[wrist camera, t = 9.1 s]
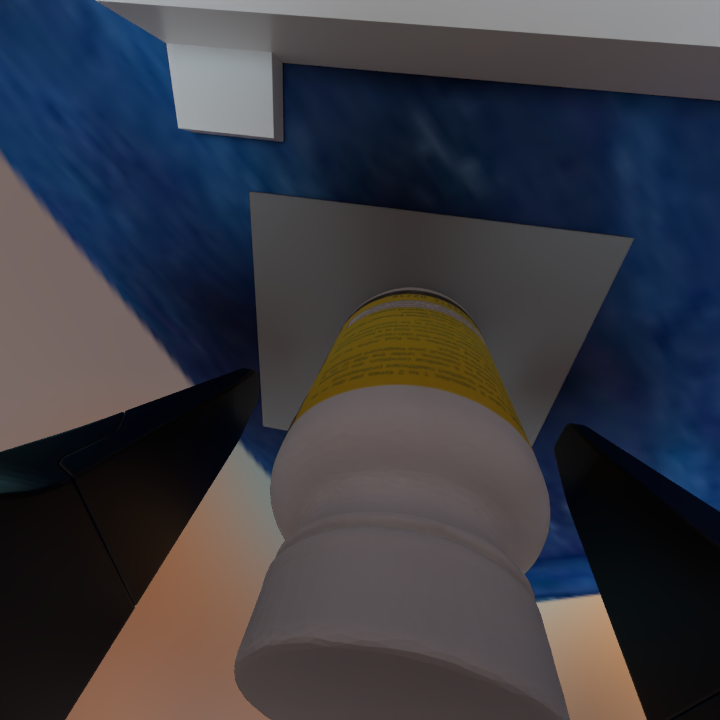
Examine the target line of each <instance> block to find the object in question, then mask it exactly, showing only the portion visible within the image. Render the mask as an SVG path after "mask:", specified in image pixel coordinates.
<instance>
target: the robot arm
mask: <svg viewBox="0 0 720 720" xmlns="http://www.w3.org/2000/svg"><path fill="white" fill-rule="evenodd" d="M258 398H259V382H258V373H257V371H256V370H253V369H247V368H242V369H239V370H236V371H234V372H231V373H228V374H225V375H223V376H220V377H217V378H214V379H212V380H209V381H206V382H203V383H201V384H198V385H195V386H192V387H190V388H187V389H184V390H182V391H179V392H176V393H173V394H171V395H168V396H165V397H162V398H160V399H157V400H154V401H152V402H149V403H146V404H143V405H140V406H138V407H135V408H132V409H129V410H127V411H125V413H124V412H121V413H118V414H116V415H113V416H110V417H107V418H105V419H102V420H99V421H96V422H93V423H90V424H87V425H84V426H82V427H78V428H75V429H72V430H69V431H66V432H63V433H60V434H57V435H53V436H50V437H47V438H44V439H41V440H37V441H34V442H31V443H28V444H24V445H21V446H18V447H15V448H12V449H9V450H5V451H2V452H0V720H65V719H66V718H67V716H68V714H69V713H70V711H71V710H72V708H73V706H74V705H75V703H76V702H77V700H78V698H79V697H80V695H81V693H82V692H83V690H84V689H85V687H86V686H87V684H88V682H89V681H90V679H91V678H92V676H93V674H94V672H95V671H96V670H97V668H98V666H99V665H100V663H101V661H102V660H103V658H104V657H105V655H106V653H107V652H108V650H109V649H110V647H111V645H112V644H113V642H114V640H115V639H116V637H117V636H118V634H119V633H120V631H121V629H122V628H123V626H124V625H125V623H126V621H127V620H128V618H129V617H130V615H131V613H132V612H133V610H134V608H135V605H137V603H138V602H139V600H140V598H141V597H142V595H143V594H144V592H145V590H146V589H147V587H148V585H149V584H150V582H151V581H152V579H153V578H154V576H155V574H156V573H157V571H158V570H159V568H160V566H161V565H162V563H163V561H164V560H165V558H166V557H167V555H168V554H169V552H170V550H171V549H172V547H173V546H174V544H175V542H176V541H177V539H178V537H179V536H180V534H181V533H182V531H183V529H184V528H185V526H186V525H187V523H188V521H189V520H190V518H191V517H192V515H193V513H194V512H195V510H196V509H197V507H198V505H199V504H200V502H201V501H202V499H203V497H204V495H205V494H206V493H207V491H208V489H209V488H210V486H211V485H212V483H213V481H214V480H215V478H216V477H217V475H218V473H219V472H220V470H221V469H222V467H223V465H224V464H225V462H226V460H227V459H228V457H229V456H230V454H231V452H232V451H233V449H234V447H235V446H236V444H237V443H238V441H239V439H240V437H241V435H242V433H243V431H244V428H245V426H246V424H247V422H248V420H249V418H250V416H251V414H252V412H253V409H254V407H255V405H256V403H257V401H258ZM554 453H555V458H556V462H557V466H558V470H559V474H560V478H561V482H562V486H563V490H564V494H565V497H566V501H567V504H568V507H569V510H570V513H571V516H572V518H573V521H574V524H575V527H576V529H577V532H578V535H579V537H580V540H581V543H582V546H583V548H584V551H585V554H586V556H587V559H588V562H589V564H590V567H591V570H592V573H593V575H594V578H595V581H596V583H597V586H598V589H599V592H600V594H601V597H602V599H603V602H604V605H605V608H606V610H607V613H608V616H609V618H610V621H611V624H612V627H613V629H614V632H615V635H616V638H617V640H618V643H619V646H620V648H621V651H622V654H623V656H624V659H625V662H626V665H627V667H628V670H629V673H630V675H631V678H632V681H633V683H634V686H635V689H636V692H637V694H638V697H639V699H640V702H641V705H642V708H643V710H644V713H645V716H646V719H647V720H720V512H719V511H718V510H716V509H714V508H713V507H711V506H710V505H708V504H707V503H705V502H703V501H702V500H700V499H699V498H697V497H696V496H694V495H693V494H691V493H689V492H688V491H686V490H685V489H683V488H682V487H680V486H679V485H677V484H675V483H674V482H672V481H671V480H669V479H668V478H666V477H664V476H663V475H661V474H660V473H658V472H657V471H655V470H654V469H652V468H650V467H649V466H647V465H646V464H644V463H643V462H641V461H640V460H638V459H636V458H635V457H633V456H632V455H630V454H629V453H627V452H625V451H624V450H622V449H621V448H619V447H618V446H616V445H615V444H613V443H611V442H610V441H608V440H607V439H605V438H604V437H602V436H601V435H599V434H597V433H596V432H594V431H593V430H591V429H590V428H588V427H586V426H584V425H579V424H572V423H570V424H567V425H566V426H565V427H564V429H563V431H562V433H561V435H560V437H559V439H558V440H557V442H556V444H555V448H554Z"/></svg>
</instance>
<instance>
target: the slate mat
mask: <svg viewBox="0 0 720 720" xmlns="http://www.w3.org/2000/svg"><path fill="white" fill-rule="evenodd" d="M249 195H250V211H251V228H252V245H253V262H254V279H255V296H256V313H257V330H258V347H259V364H260V381H261V398H262V415H263V426H265V427H270V428H275V429H281V430H286V431H288V429H289V427H290V425H291V423H292V421H293V419H294V417H295V416H296V414H297V413H298V411H299V409H300V407H301V405H302V403H303V401H304V400H305V398H306V396H307V394H308V392H309V390H310V388H311V387H312V385H313V383H314V380H315V379H316V377H317V375H318V373H319V371H320V369H321V367H322V366H323V364H324V362H325V359H326V358H327V356H328V353H329V352H330V350H331V348H332V346H333V344H334V343H335V341H336V339H337V337H338V335H339V333H340V331H341V329H342V327H343V326H344V324H345V323H346V321H347V319H348V318H349V317H350V316H351V314H352V313H353V312H354V311H355V310H356V309H357V308H358V307H359V306H360V305H361V304H363V303H364V302H365V301H367V300H368V299H370V298H372V297H374V296H376V295H378V294H380V293H383V292H386V291H389V290H393V289H398V288H406V287H414V288H423V289H428V290H432V291H436V292H438V293H441V294H443V295H445V296H447V297H449V298H451V299H452V300H454V301H456V302H457V303H458V304H459V305H461V306H462V307H463V308H464V309H465V310H466V311H467V312H468V313H469V315H470V316H471V317H472V319H473V320H474V322H475V323H476V325H477V327H478V328H479V330H480V332H481V334H482V337H483V339H484V341H485V343H486V345H487V347H488V350H489V352H490V355H491V357H492V359H493V361H494V364H495V366H496V368H497V370H498V373H499V375H500V377H501V379H502V381H503V384H504V386H505V388H506V390H507V393H508V395H509V397H510V400H511V402H512V404H513V407H514V409H515V411H516V414H517V416H518V419H519V421H520V423H521V425H522V427H523V429H524V432H525V434H526V436H527V438H528V441H529V443H530V445H531V447H532V446H533V444H534V442H535V440H536V437H537V435H538V433H539V431H540V429H541V427H542V425H543V423H544V421H545V419H546V417H547V415H548V413H549V411H550V409H551V407H552V405H553V403H554V401H555V399H556V397H557V395H558V393H559V391H560V389H561V387H562V385H563V382H564V380H565V378H566V376H567V374H568V372H569V370H570V368H571V366H572V364H573V362H574V360H575V358H576V356H577V354H578V352H579V350H580V348H581V346H582V344H583V342H584V340H585V338H586V336H587V334H588V332H589V330H590V327H591V325H592V323H593V321H594V319H595V317H596V315H597V313H598V311H599V309H600V307H601V305H602V303H603V301H604V299H605V297H606V295H607V293H608V291H609V289H610V287H611V285H612V283H613V281H614V279H615V277H616V275H617V272H618V270H619V268H620V266H621V264H622V262H623V260H624V258H625V256H626V254H627V252H628V250H629V248H630V246H631V244H632V242H633V240H634V238H629V237H625V236H616V235H608V234H600V233H592V232H583V231H575V230H567V229H559V228H550V227H542V226H534V225H526V224H518V223H509V222H501V221H493V220H485V219H476V218H468V217H460V216H452V215H443V214H435V213H427V212H419V211H410V210H402V209H394V208H386V207H378V206H369V205H361V204H353V203H345V202H336V201H328V200H320V199H312V198H303V197H295V196H287V195H279V194H270V193H262V192H249Z"/></svg>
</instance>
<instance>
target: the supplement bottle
mask: <svg viewBox="0 0 720 720" xmlns="http://www.w3.org/2000/svg"><path fill="white" fill-rule="evenodd" d="M270 494H271V505H272V509H273V513H274V517H275V520H276V523H277V526H278V528H279V529H280V532H281V534H282V535H283V537H284V539H285V542H284V543H283V544H282V546H281V547H280V549H279V551H278V553H277V555H276V558H275V559H274V561H273V562H272V563H271V565H270V567H269V569H268V571H267V573H266V576H265V579H264V582H263V586H262V589H261V592H260V595H259V597H258V600H257V603H256V605H255V608H254V611H253V613H252V616H251V619H250V621H249V624H248V626H247V629H246V632H245V635H244V637H243V639H242V642H241V645H240V647H239V650H238V653H237V657H236V660H235V670H234V673H235V680H236V683H237V685H238V688H239V689H240V691H241V692H242V694H243V695H244V697H245V698H246V699H247V700H248V701H249V702H250V703H251V704H252V705H253V706H254V707H255V708H257V709H258V710H259V711H260V712H261V713H262V714H264V715H265V716H266V717H268V718H269V719H271V720H570V718H569V714H568V710H567V707H566V703H565V699H564V695H563V692H562V688H561V685H560V681H559V678H558V675H557V671H556V667H555V664H554V660H553V656H552V653H551V648H550V645H549V642H548V639H547V635H546V632H545V628H544V624H543V621H542V618H541V614H540V612H539V609H538V607H537V604H536V600H535V597H534V593H533V590H532V587H531V585H530V583H529V581H528V579H527V578H526V576H525V575H524V574H525V573H526V572H527V571H528V570H529V569H530V568H531V567H532V565H533V564H534V563H535V561H536V559H537V558H538V556H539V555H540V553H541V551H542V548H543V546H544V544H545V541H546V538H547V535H548V531H549V524H550V503H549V496H548V491H547V488H546V484H545V481H544V477H543V475H542V472H541V470H540V467H539V465H538V462H537V460H536V457H535V454H534V452H533V449H532V447H531V445H530V443H529V441H528V438H527V436H526V434H525V432H524V429H523V427H522V425H521V423H520V421H519V419H518V416H517V414H516V411H515V409H514V407H513V404H512V402H511V400H510V397H509V395H508V393H507V390H506V388H505V386H504V384H503V381H502V379H501V377H500V375H499V373H498V370H497V368H496V366H495V364H494V361H493V359H492V357H491V355H490V352H489V350H488V347H487V345H486V343H485V341H484V339H483V337H482V334H481V332H480V330H479V328H478V327H477V325H476V323H475V322H474V320H473V319H472V317H471V316H470V315H469V313H468V312H467V311H466V310H465V309H464V308H463V307H462V306H461V305H459V304H458V303H457V302H456V301H454V300H452V299H451V298H449V297H447V296H445V295H443V294H441V293H438V292H436V291H432V290H428V289H423V288H414V287H406V288H398V289H393V290H389V291H386V292H383V293H380V294H378V295H376V296H374V297H372V298H370V299H368V300H367V301H365V302H364V303H363V304H361V305H360V306H359V307H358V308H357V309H356V310H355V311H354V312H353V313H352V314H351V316H350V317H349V318H348V319H347V321H346V323H345V324H344V326H343V327H342V329H341V331H340V333H339V335H338V337H337V339H336V341H335V343H334V344H333V346H332V348H331V350H330V352H329V353H328V356H327V358H326V359H325V362H324V364H323V366H322V367H321V369H320V371H319V373H318V375H317V377H316V379H315V380H314V383H313V385H312V387H311V388H310V390H309V392H308V394H307V396H306V398H305V400H304V401H303V403H302V405H301V407H300V409H299V411H298V413H297V414H296V416H295V417H294V419H293V421H292V423H291V425H290V427H289V429H288V432H287V434H286V436H285V439H284V441H283V443H282V445H281V448H280V450H279V452H278V454H277V457H276V460H275V463H274V466H273V470H272V475H271V486H270Z"/></svg>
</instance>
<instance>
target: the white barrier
mask: <svg viewBox="0 0 720 720" xmlns="http://www.w3.org/2000/svg"><path fill="white" fill-rule="evenodd" d="M96 1H97V2H99V3H100V4H102V5H104V6H105V7H107V8H109V9H110V10H112V11H114V12H115V13H117V14H119V15H120V16H122V17H124V18H125V19H127V20H129V21H130V22H132V23H134V24H135V25H137V26H139V27H140V28H142V29H144V30H145V31H147V32H148V33H150V34H152V35H153V36H155V37H157V38H158V39H160V40H162V41H163V42H165V43H166V45H167V52H168V59H169V66H170V73H171V80H172V87H173V94H174V101H175V108H176V115H177V122H178V128H180V129H183V130H187V131H191V132H194V133H204V134H213V135H222V136H232V137H241V138H250V139H259V140H269V141H278V142H283V63H291V64H302V65H314V66H325V67H337V68H348V69H360V70H371V71H383V72H394V73H406V74H418V75H429V76H441V77H452V78H464V79H475V80H487V81H498V82H510V83H522V84H533V85H545V86H556V87H568V88H579V89H591V90H602V91H614V92H625V93H637V94H649V95H660V96H672V97H683V98H695V99H706V100H718V101H720V0H96Z"/></svg>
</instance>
